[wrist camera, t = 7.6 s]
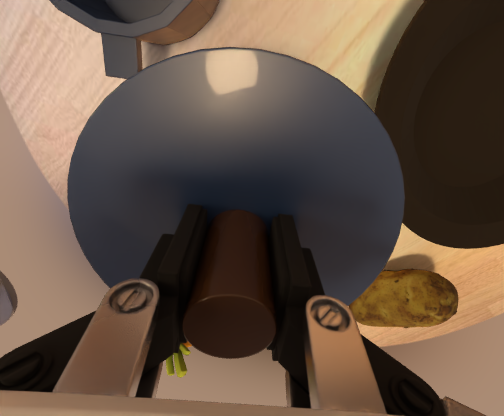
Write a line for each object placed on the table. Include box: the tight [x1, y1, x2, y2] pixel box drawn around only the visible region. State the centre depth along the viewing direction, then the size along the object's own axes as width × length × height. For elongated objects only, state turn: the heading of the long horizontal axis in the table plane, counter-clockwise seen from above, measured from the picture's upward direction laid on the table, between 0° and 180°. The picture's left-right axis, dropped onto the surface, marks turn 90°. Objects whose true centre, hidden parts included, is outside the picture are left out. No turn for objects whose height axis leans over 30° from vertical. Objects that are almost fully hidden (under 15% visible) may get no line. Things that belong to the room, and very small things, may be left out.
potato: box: [349, 269, 458, 328], centre depth 36 cm, size 8×13×8 cm, turn 110°
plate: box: [375, 0, 504, 249], centre depth 26 cm, size 28×24×6 cm
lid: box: [68, 47, 405, 359], centre depth 10 cm, size 14×14×6 cm
